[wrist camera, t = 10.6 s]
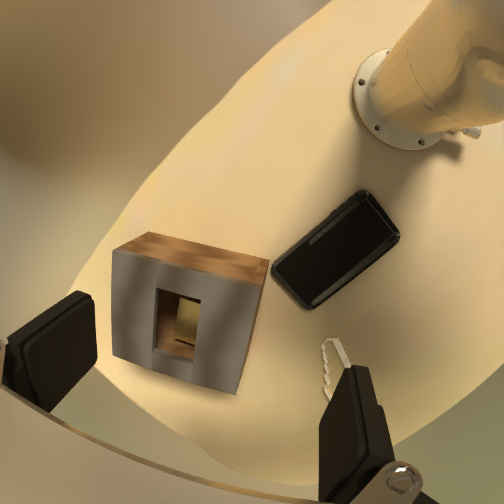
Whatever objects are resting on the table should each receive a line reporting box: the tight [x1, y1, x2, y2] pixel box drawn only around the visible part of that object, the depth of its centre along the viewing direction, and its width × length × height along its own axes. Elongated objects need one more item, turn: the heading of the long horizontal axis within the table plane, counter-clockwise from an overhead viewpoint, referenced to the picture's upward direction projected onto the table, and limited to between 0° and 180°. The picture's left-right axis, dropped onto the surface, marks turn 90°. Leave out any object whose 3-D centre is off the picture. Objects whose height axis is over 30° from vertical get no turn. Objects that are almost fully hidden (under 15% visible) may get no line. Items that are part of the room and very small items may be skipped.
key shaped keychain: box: [321, 337, 351, 400], centre depth 42 cm, size 13×5×2 cm, turn 28°
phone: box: [271, 190, 400, 310], centre depth 37 cm, size 8×1×15 cm
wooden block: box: [174, 295, 201, 345], centre depth 40 cm, size 3×6×4 cm, turn 165°
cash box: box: [111, 232, 270, 395], centre depth 37 cm, size 16×14×9 cm
